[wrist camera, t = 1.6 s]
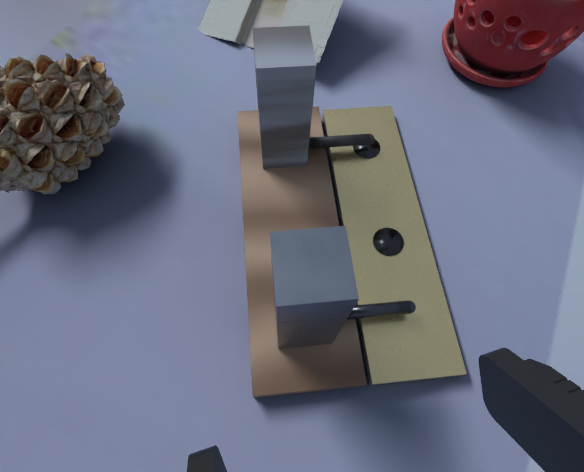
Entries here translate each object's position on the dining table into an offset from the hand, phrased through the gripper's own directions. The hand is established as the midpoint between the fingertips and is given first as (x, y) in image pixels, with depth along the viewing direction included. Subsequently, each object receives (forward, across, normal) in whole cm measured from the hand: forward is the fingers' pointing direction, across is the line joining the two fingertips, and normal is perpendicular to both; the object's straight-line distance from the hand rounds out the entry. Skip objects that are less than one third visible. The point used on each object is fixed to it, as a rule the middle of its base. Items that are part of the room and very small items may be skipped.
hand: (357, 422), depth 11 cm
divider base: (+23, -4, +1) cm, 24 cm away
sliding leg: (+17, -4, +6) cm, 18 cm away
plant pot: (+35, -30, -9) cm, 47 cm away
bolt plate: (+23, -10, +2) cm, 25 cm away
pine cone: (+30, +19, -8) cm, 37 cm away
